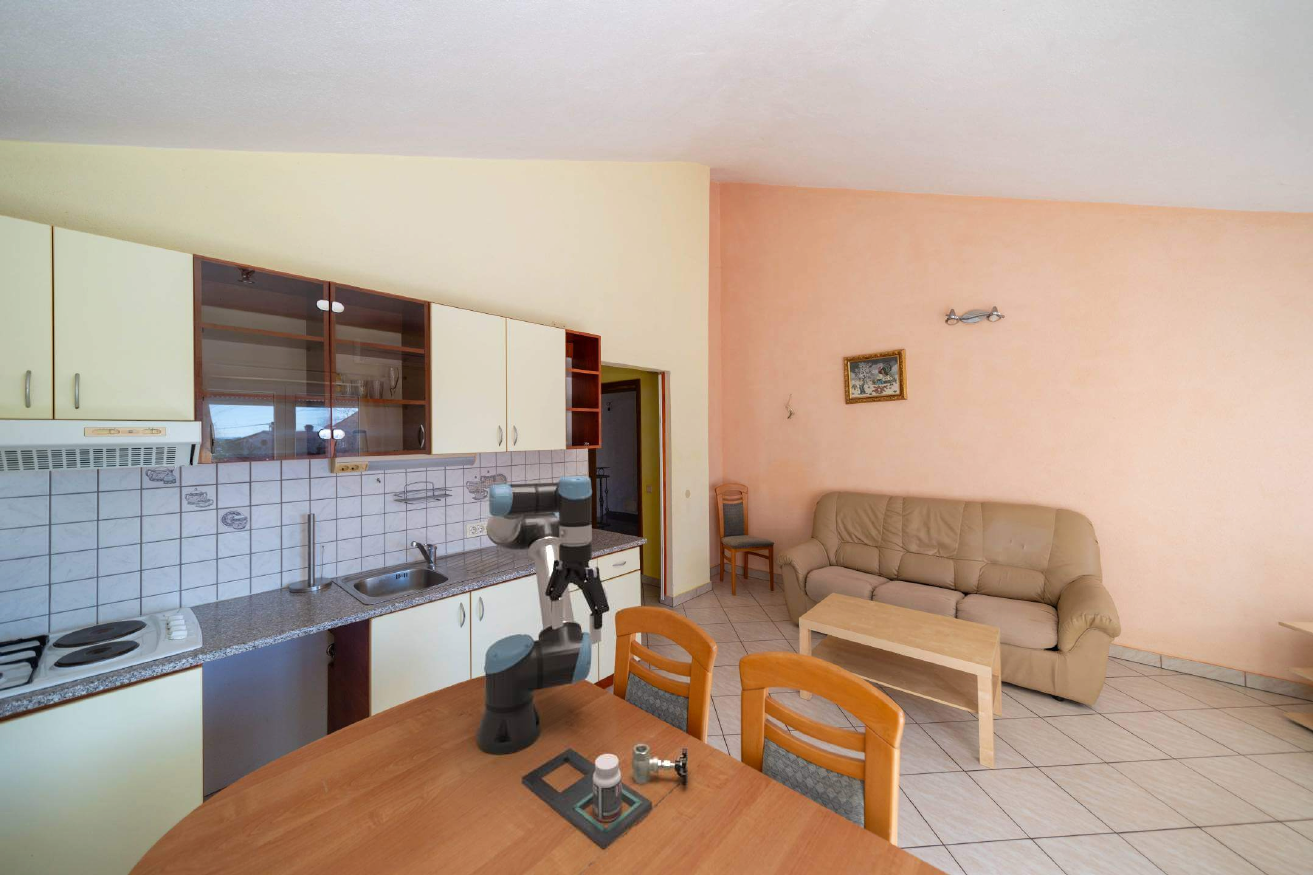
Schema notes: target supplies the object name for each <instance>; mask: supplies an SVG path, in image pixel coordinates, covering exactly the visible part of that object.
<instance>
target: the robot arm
mask: <svg viewBox="0 0 1313 875" xmlns="http://www.w3.org/2000/svg"><path fill="white" fill-rule="evenodd" d="M558 480H559V481H557V482H539V483H538V482H537V483H536V482H535V483H502V484H494V485H491V486H490V488H489V492H488V508H489V509H488V511H489V514H490V517H489V519H488V521H487V525H486V534H487V538H488V539H489V541H490V542H491V543H493V544H494V545H496V546H498V547H500V548H501V549H506V550H511V551H512V550H513V551H519V550H527V553H528V556H530V557H531V559H533V560H534V567H535V574H536V582H537V591H538V600H539V607H540V614H541V622H542V629H541V630H540V631H539V633H538V637H537V638H538V640H537V639H536V640H534V638H533V636H532V635H530V634H521V633H519V634H517V633H516V634H512V635H509V636H505V637H503V638H500V639H499V640H497V641H496V642H494V643H493V644H492V645H490V646H489V647H488V649H487V650H486V652H485V658H484V659H485V661H484V666H483V668H484V670H483V671H484V673H485V675H484V676H485V677H484V679H485V680H484V685H485V686H484V710H483V713H482V717H481V720H480V723H479V726H478V730H477V745H478V747H479V748H480V749H481V750H482V751H484V752H486V753H488V754H493V755H505V754H512V753H517V752H519V751H521V750H524V749H526V748H528V747H530V746H531V745H533V744H534V743H535V742H536V741H537V740H538V738H539V737H540V734H541V730H542V728H541V726H542V725H541V724H542V723H541V718H540V715H539V712H538V709H537V706H536V703H535V701H534V692H535V691H539V690H545V689H548V688H549V689H550V688H555V687H560V686H565V685H573V684H575V683H578V682H583V681H584V680H586V679H587V678H588V676H589V674H590V672H591V666H592V665H591V664H592V646H593V645H595V644H599V643H600V642H601V641H602V629H603V614H605V613H608V612H609V611H610V606H609V603H608V599H607V596H606V593H605V591H604V590H605V589H604V587H603V584H602V580H601V576H600V568H599V567H598V566H595V567H590V565H589V564H590V563H589V562H590V560H591V559H592V557H593V554H592V553H593V552H592V551H593V550H592V548H593V546H592V544H591V541H592V540H593V533H592V532H593V530H592V526H593V525H592V494H593V490H592V481H591V478H590V477H589V476H582V475H573V476H572V475H570V476H563V477H560V478H559V479H558ZM570 584H572V585H574V586H577V588H578V589H579V590H581V592H582V594H583V597H584V599H585V601H586V603H587V605H588V608H589V609H590V612H591V613H589V616H588V617H589V632H587V631H583V630H582V626H581V624H580V623H579V622H578V621H575V617H574V616H575V615H574V611H573V608H572V607H573V606H572V601H571V595H570V590H569V585H570Z"/></svg>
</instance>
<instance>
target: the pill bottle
mask: <svg viewBox="0 0 1313 875" xmlns="http://www.w3.org/2000/svg"><path fill="white" fill-rule="evenodd" d="M594 764H595V770H596V771H595V772H594V774H593V803H592V813H593V816H594V817H595V819H597V820H598V821H600V822H605V823H607V822H608V823H609V822H612V821H615V820H616V819H617V818H619V817H620V816H621V814H622V810H623V809H622V808H623V801H622V782H623V781H622V772H621V770H620V769H619V768H620V767H619V766H620V763H619V758H618V757H617V756H616V755H615V754H612V753H604V754H601V755H599V756H597V758H596V759H595V761H594Z"/></svg>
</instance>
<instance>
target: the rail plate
mask: <svg viewBox="0 0 1313 875" xmlns="http://www.w3.org/2000/svg"><path fill="white" fill-rule="evenodd" d="M566 763H567V764H568V765H570V766H572V767H573V768H574V769H576V770H577V771H579V772H580V773H581V774H583V775H584V776H582V777H581V778H580V779H578V780H577V781H575V782H574V783H572V784H571V785H569V786H568V787H566V788H565V789H563V790H562V791H558V790H557V789H556V788H555V787H553V786H552V785H551V784H549V783H548V782H547V781H545V779H543V778H544V777H546V776H548V775H549V774H550V773H552V772H554V771H555V770H556V769H559V768H560V767H561V766H563V765H564V764H566ZM595 771H596V770H595V762H592V761H590V760H589V759H588V758H586V757H584V756H583V755H581V754H580V753H578V752H577V751H575V750H573V748H570V747H569V748H568V749H566V750H564V751H563V752H561V753H559V754H557V755H556V756H554V757H553V758H551V759H549V760H548V761H545V763H543V764H542V765H540V766H538V767H537V768H534V769H533V770H531V771H530V772H528V773H527V774H525V775H523V776H521V784H523V785H524V786H525V787H526V788H527V789H528V790H530V791H532V792H533V793H534V794H535V795H536V796H538V798H540V799H541V800H543V801H544V802H545V803H546V804H547V805H549V806H550V807H551V808H552V809H554V810H555V812H557V813H558V814H560V815H561V816H562V817H563V818H564V819H565V820H567V821H568V822H569V823H571V824H572V826H574V827H575V828H576V829H577V830H579V831H581V833H583V834H584V835H585V836H586V837H588V839H590V840H592V842H593V843H595V844H596V845H597V846H599V847H600V848H601V849H603V850H605V849H607V847H609V846H610V845H611V844H612V843H613V842H615V840H617V839H618V838H619V837H620V836H621V835H623V834H624V833H625V832H626V831H628V829H630V828H631V827H632V826H633V825H634V824H635V823H636V822H638V821H639V820H640V819H641V818H642V817H644V815H645V814H647V813H648V812H649V811H650V810H651V809H652V808H653V801H652V800H650V799H649V798H647V797H646V796H643V795H642V794H640V792H637V791H636V790H635V789H633V788H631V787H630V786H629V785H627V784H626V783H624V782H623V781H622V802H624V803H625V804H627V805H628V806H629V808H628V809H627V810H626V811H624V813H621V814H620V815H619V816H618V817H617V818H616V819H615V820H613V822H612V821H611V823H610V824H609V825H608V826H607V827H605V826H603V824H601V823H600V822H599V821H597V820H596V818H593V816H591V815H590V814H588V813H587V812H586V811H584V810H586V808H588V807H589V806H591V805H593V774H594V772H595Z"/></svg>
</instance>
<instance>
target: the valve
mask: <svg viewBox="0 0 1313 875" xmlns="http://www.w3.org/2000/svg"><path fill="white" fill-rule="evenodd" d="M632 756H633V757H632V759H631V760H632V761H631V767H632V779H633V780H634V782H635V784H637V785H638V784H639V785H642V784H643V785H645V784H647V783H648V782H649V781H650V780H651V772H652V773H653V774H658V773H659V770H662V769H663V771H671V769H674V772H676V774H677V776H678V777H679V778H681V779H682V780H681V785H682V786H687V785H688V784H687V783H688V776H687V773H688V769H689V768H688V748H684V747H683V748H682V751H681V754H679V755H678V757H677V759H676V760H675V761H674V762H671V760H663V761H662V759H660V758H659V757H660V756H656V755H654V756H653V757H651V749H650V747H649V745H648V744H645V743H637V744H636V745H634V746H633V748H632ZM681 759H682V760H681Z"/></svg>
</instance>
